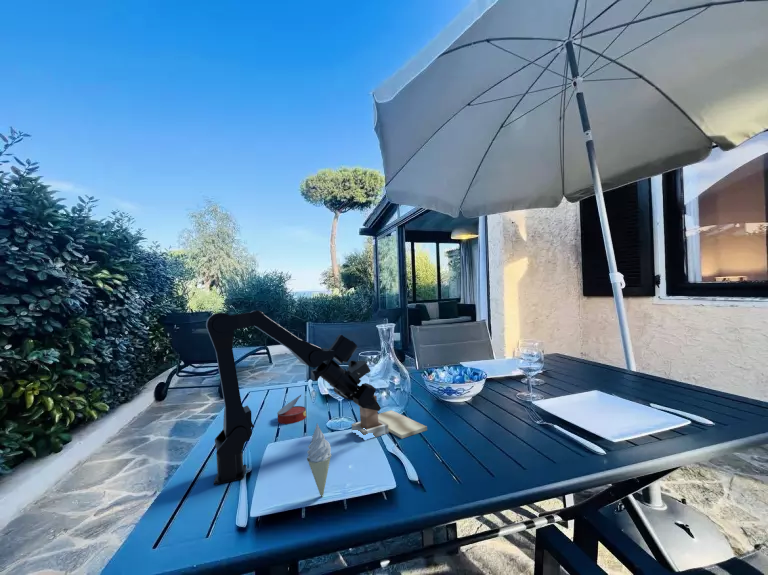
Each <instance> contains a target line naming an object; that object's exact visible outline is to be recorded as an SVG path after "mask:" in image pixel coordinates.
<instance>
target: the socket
mask: <svg viewBox="0 0 768 575" xmlns="http://www.w3.org/2000/svg"><path fill="white" fill-rule="evenodd" d="M378 423H379V426H377V427H373V428H370V429H367V430H365V429H363V428H362V427H361V420H360V421H357V422H354V423H351V431H352V430H358V431H360V432H361V433H362V434H363V435H366V434H368V433H373V435H374V436H375V438H379V437H380V436H383V435H382V434H384V435H387V434H389V433H391V434H393V435H394V436H396V437H398V438H400V439H402V440H403V439H404V438H408V437H412V436H414V435H417V434H420V433H423V432H426V431H428V426H427V425H424V424H422V423H420V422H418V421H417V420H413V419H411V418H410V417H408V416H405V415H404V414H400V413H398V412H397V411H394V410H392V409H391V410H387V411H383V412H380V413H378Z"/></svg>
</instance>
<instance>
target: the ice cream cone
mask: <svg viewBox="0 0 768 575" xmlns="http://www.w3.org/2000/svg"><path fill="white" fill-rule="evenodd" d="M307 449H308V450H307V452H306V453H307V455H308V456H307V457H306V460H307V462H308V465H309V467H310V470H311V471H310V472H311V473H312V476H313V480H314V482H315V485H316V487H317V490H318V493H319V496H320V495H321V496H322V495H323V496H324V493H325V489H326V483H327V478H328V472H329V468H330V462H331V457H332V452H331V451H332V450H331V449H332V448H331V444H330V442H329V441H328V440H327V439H325V434H324V433H323V432H322V430H321V428H320V425H319V424H318V423H317V422H316V426H315V429H314V432H313V434H312V436H311V442H310V444H309V445H308V446H307ZM321 496H320V497H321Z"/></svg>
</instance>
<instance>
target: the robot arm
mask: <svg viewBox="0 0 768 575" xmlns="http://www.w3.org/2000/svg"><path fill="white" fill-rule="evenodd" d="M205 327H206V330H207V333H208V336H209V338H210V341H211V343H212V345H213V348H214V351H215V356H216V360H217V368H218V374H219V379H220V384H221V385H220V387H221V392H222V397H223V404H224V409H223V410H224V411H223V426H222V427H223V428H222V430H221V431H220V432H219V433H218V434H217V436H216V437H215V438H214V445H215V448H216V453H215V454H216V472H217V474H216V476H215V478H214V481H213V485H215V486H216V485H219V484H220V485H221V484H225V483H230V482H234V481H238V480H239V481H241V480H243V479H244V478H245V474H246V471H247V467H248V466H247V464H244V454H243V452H244V447H245V444H246V442H247V441H248V440H249V439H250V437H251V436H252V432H253V431H252V428H253V429H254V428H255V425H254V424H253V422H252V410H251V408H250V407H249V405H245V406H243V403H242V398H241V392H240V387H239V380H238V375H237V369H236V363H235V362H236V361H235V357H234V356H235V355H234V351H233V349H234V348H233V346H234V333H235V330H241V329H247V328H251V327H255V328H256V329H258V330H259V331H261V332H262V333H264V334H266V335H267V336H268V337H270V338H271V339H273V340H275V341H276V342H278V343H279V344H280V345H282V346H284V347H285V348H286V349H288V350H289V351H290V352H291V354H293V356H294V357H295V358H296V359H297V360H298V361H300V363H301V364H303V365H306V366H308V367H309V368H313V369H311V370H310V372H311V373H310V374H311V376H310V379H311V380H313V381H315V382H317V381H318V380H319V379H320V378H321V379H322V380H324V381H325V382H326V383H328V384H329V386H330V387H331V388H333V393H335V394H336V395H337V396H339V397H341V398H343V399H346V400H349V401H352V402H353V403H354V404H355V405H357V406H358V407H359V408H360V407H362V408H366V409H372V410H376V411H378V412H380V410H381V408H382V407H381V406H380V404H379V402H378V400H377V401H376V399H375V398H374V395H375V393H376V391H377V388H376V387H374V386H373V385H372V384H370V383H367V382H364V383H362V384H361V382H362V378H363V377H364V376H366V375H367V374H369V373H370V372H371V369H370V366H369V365H368V363H367V361H366V360H362V359H361V360H357V361H356V360H353V359H351V357H352V356H353V354H355V352H356V351H357V349H358V345H357V343H355V342H354V341H353V340H350V339H349V338H347V337H346V336H344V335H343V334H338V335H337V336H336V338H335V340H334V341H333V343H332V344H331V346H329V348H327V347H322V348H321V347H319V346H317V345H315V344H313V343H310V342H309V341H305V340H303V339H301V338H299V337H298V336H296V335H295V334H293V333H292V332H290V331H288V329H286V328H285V327H283V326H281V325H280V324H279V323H277V321H276V322H275V321H274V320H272V318H270V317H268V316H267V315H265V313H264V312H263V311H261V310H251V311H250V312H249V311H248V312H243V313H236V314H228V313H224V312H216V313H213V314H212V315H210V316H209V317H208V318H207V319H206V322H205ZM350 359H351V360H350ZM349 360H350V361H349ZM338 363H339V364H338ZM343 363H345V364H347V363H348V368H347V369H345V368H343V367H342V366H341V364H343ZM314 368H315V369H314Z"/></svg>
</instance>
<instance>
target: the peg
mask: <svg viewBox="0 0 768 575" xmlns="http://www.w3.org/2000/svg"><path fill="white" fill-rule="evenodd" d="M374 398H375V399H376V401H377V402H378V399H377V395H375V394H374ZM378 414H379V411H376V410H372V409H366V408H362V407H360V406H359V417H360V421H361V427H362V428H365V429H366V430H367V429H370V428H373V427H377V426H379V423H378Z"/></svg>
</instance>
